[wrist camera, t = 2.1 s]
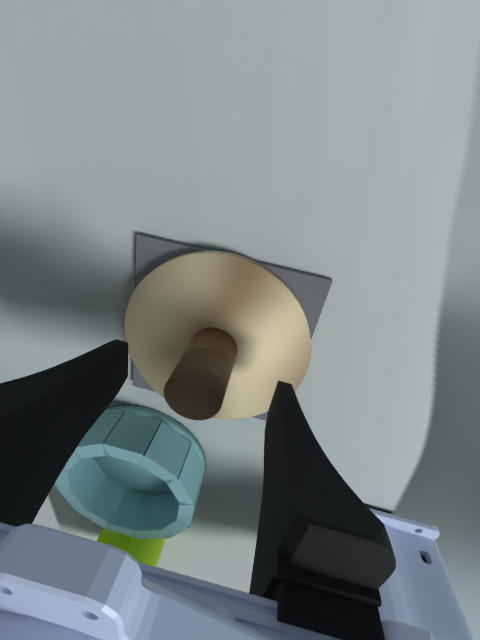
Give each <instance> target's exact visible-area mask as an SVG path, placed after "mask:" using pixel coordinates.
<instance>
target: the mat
mask: <svg viewBox="0 0 480 640" xmlns="http://www.w3.org/2000/svg"><path fill="white" fill-rule="evenodd" d="M207 250H208V251H214V250H210V249H206V248H201V247H197V246H193V245H189V244H185V243H180V242H176V241H172V240H168V239H163V238H159V237H155V236H151V235H147V234H142V233H139V234H136V271H135V289H136V287H137V286H138V285H139V283H140V282H141V281H142V280H143V279H144V278H145V277H146V276H147V275H148V274H149V273H151V272H152V271H153V270H154V269H156V268H157V267H159V266H160V265H162V264H163V263H165V262H167V261H168V260H170V259H173V258H175V257H178V256H180V255H183V254H187V253H191V252H198V251H207ZM254 261H256V260H254ZM256 262H258V263H260V264H262V265H263V266H265V267H267V268H268V269H270V270H271V271H273V272H274V273H275V274H276V275H277V276H279V277H280V278H281V279H282V280H283V281H284V282H285V283H286V284H287V285H288V286H289V287H290V288H291V290H292V291H293V292H294V294H295V295H296V297H297V298H298V300H299V302H300V304H301V305H302V307H303V309H304V312H305V315H306V318H307V321H308V325H309V331H310V338H312V335H313V333H314V330H315V327H316V324H317V322H318V319H319V316H320V313H321V311H322V308H323V305H324V303H325V300H326V297H327V294H328V292H329V289H330V286H331V283H332V279H331V278H328V277H324V276H320V275H315V274H311V273H307V272H303V271H298V270H294V269H290V268H286V267H282V266H277V265H273V264H269V263H265V262H260V261H256ZM133 386H137V387H140V388H144V389H148V390H152V391H155V390H154V389H153V388H152V387H151V386H150V385H149V384H148V383H147V382H146V380H145V379H144V378H143V377H142V375H141V374H140V373H139V371H138V369H137V368H136V366H135V365H134V362H133ZM267 413H268V411H267V412H265V413H263V414H259V415H256V416H253V417H255V418H259V419H262V420H267Z"/></svg>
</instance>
